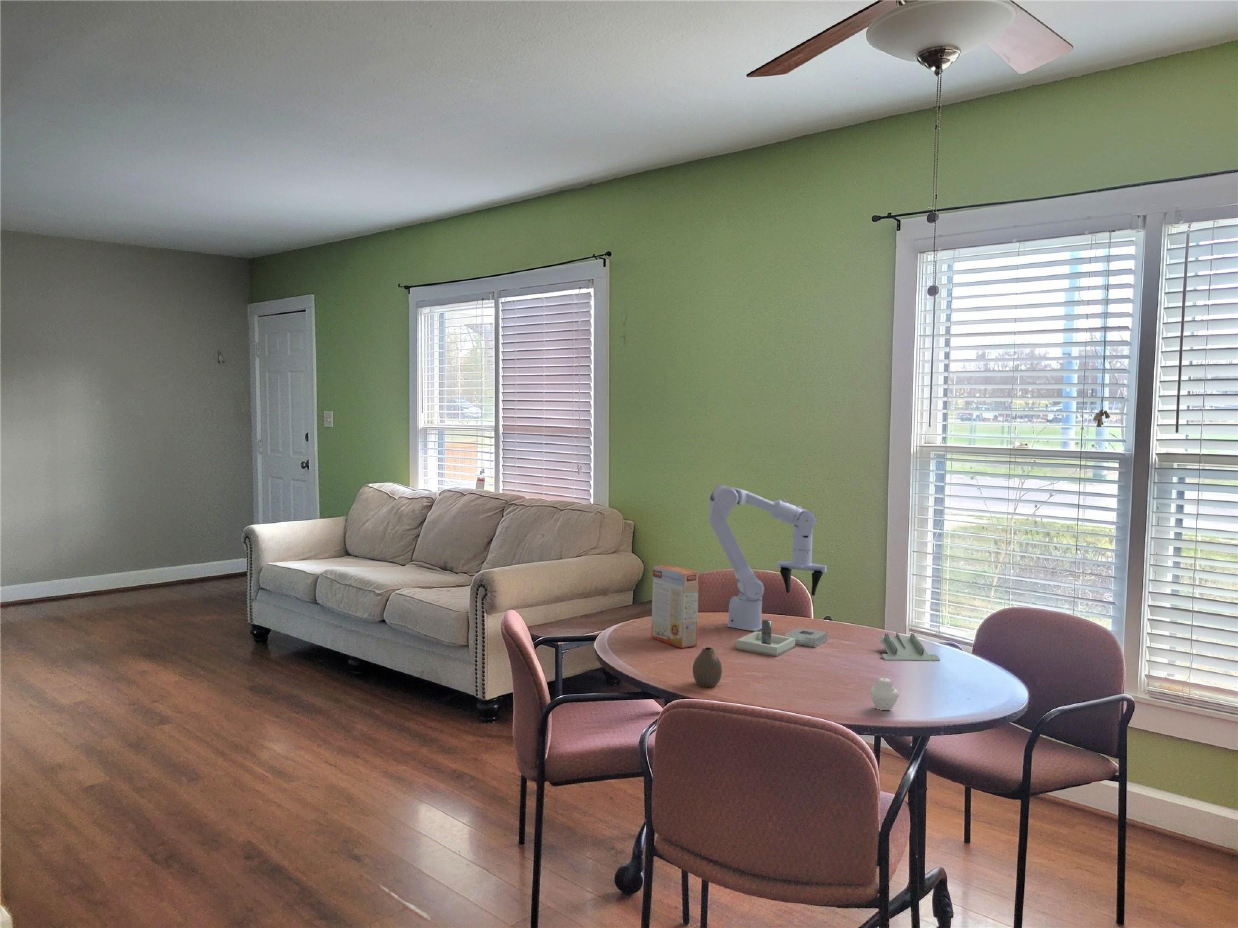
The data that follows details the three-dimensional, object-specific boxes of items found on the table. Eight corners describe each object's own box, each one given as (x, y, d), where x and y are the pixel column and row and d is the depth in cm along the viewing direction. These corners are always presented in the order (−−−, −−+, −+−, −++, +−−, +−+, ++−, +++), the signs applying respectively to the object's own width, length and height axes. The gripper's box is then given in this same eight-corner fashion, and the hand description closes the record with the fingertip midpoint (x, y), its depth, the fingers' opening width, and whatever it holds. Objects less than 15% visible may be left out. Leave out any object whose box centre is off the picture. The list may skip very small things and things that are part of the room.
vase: (713, 691, 202) (714, 654, 201) (687, 685, 205) (688, 649, 205) (726, 683, 207) (727, 647, 207) (700, 678, 211) (701, 642, 211)
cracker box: (698, 646, 240) (700, 571, 239) (680, 649, 237) (683, 573, 235) (667, 635, 252) (669, 563, 250) (650, 637, 248) (652, 565, 247)
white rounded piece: (867, 710, 191) (869, 679, 190) (870, 702, 196) (871, 671, 196) (897, 715, 189) (898, 683, 188) (899, 706, 194) (900, 675, 194)
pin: (759, 645, 240) (760, 620, 239) (764, 643, 242) (765, 619, 241) (767, 647, 238) (768, 622, 238) (772, 645, 240) (773, 620, 240)
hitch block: (785, 641, 247) (785, 633, 247) (797, 635, 254) (798, 627, 254) (815, 647, 242) (815, 638, 242) (827, 640, 249) (827, 632, 249)
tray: (736, 648, 239) (736, 639, 238) (755, 639, 248) (755, 631, 248) (776, 656, 232) (777, 647, 232) (794, 647, 242) (795, 638, 242)
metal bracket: (870, 628, 243) (923, 629, 243) (867, 646, 245) (920, 647, 245) (887, 656, 229) (943, 657, 230) (884, 675, 231) (939, 676, 232)
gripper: (775, 548, 262) (773, 593, 263) (823, 553, 256) (821, 598, 257) (781, 545, 269) (779, 589, 269) (828, 550, 263) (826, 594, 263)
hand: (800, 593), depth 264 cm, fingers open, 7 cm apart
